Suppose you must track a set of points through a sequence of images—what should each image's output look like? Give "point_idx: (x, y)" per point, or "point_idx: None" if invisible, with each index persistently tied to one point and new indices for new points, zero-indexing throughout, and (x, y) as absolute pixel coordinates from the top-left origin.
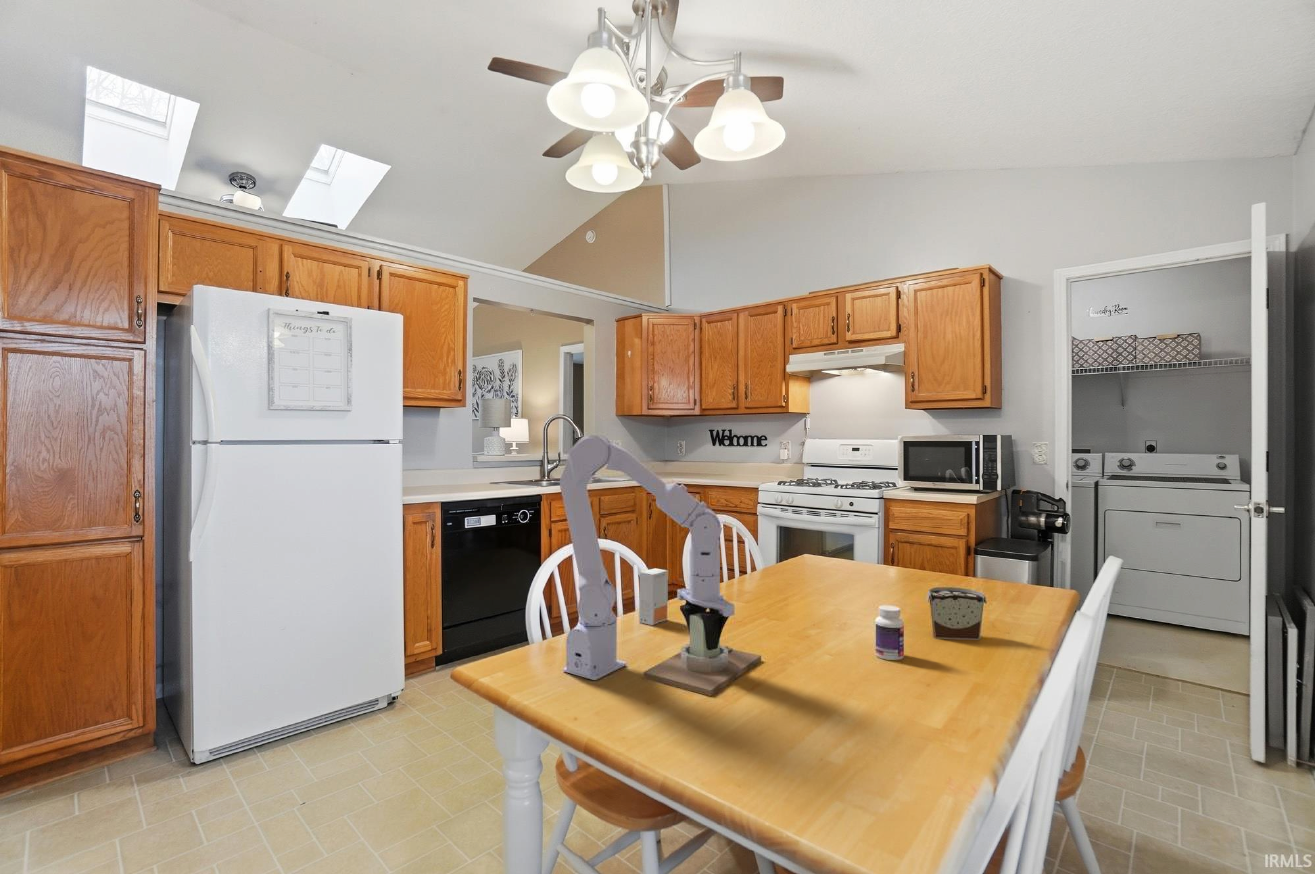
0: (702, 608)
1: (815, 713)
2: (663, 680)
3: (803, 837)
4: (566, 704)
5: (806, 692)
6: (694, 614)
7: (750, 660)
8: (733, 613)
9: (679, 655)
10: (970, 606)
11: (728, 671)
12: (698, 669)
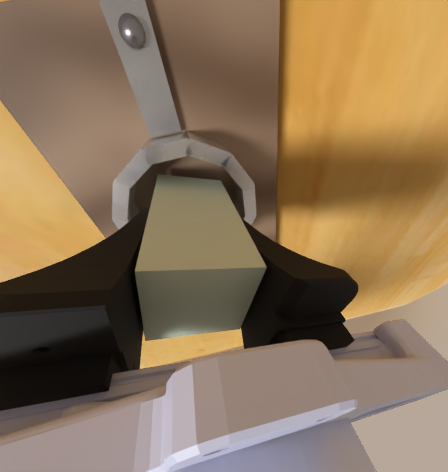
0: (126, 312)
1: (419, 190)
2: None
3: (388, 307)
4: (170, 351)
5: (417, 126)
6: (146, 326)
7: (268, 67)
8: (408, 331)
9: (98, 210)
10: None
11: (259, 192)
12: None
